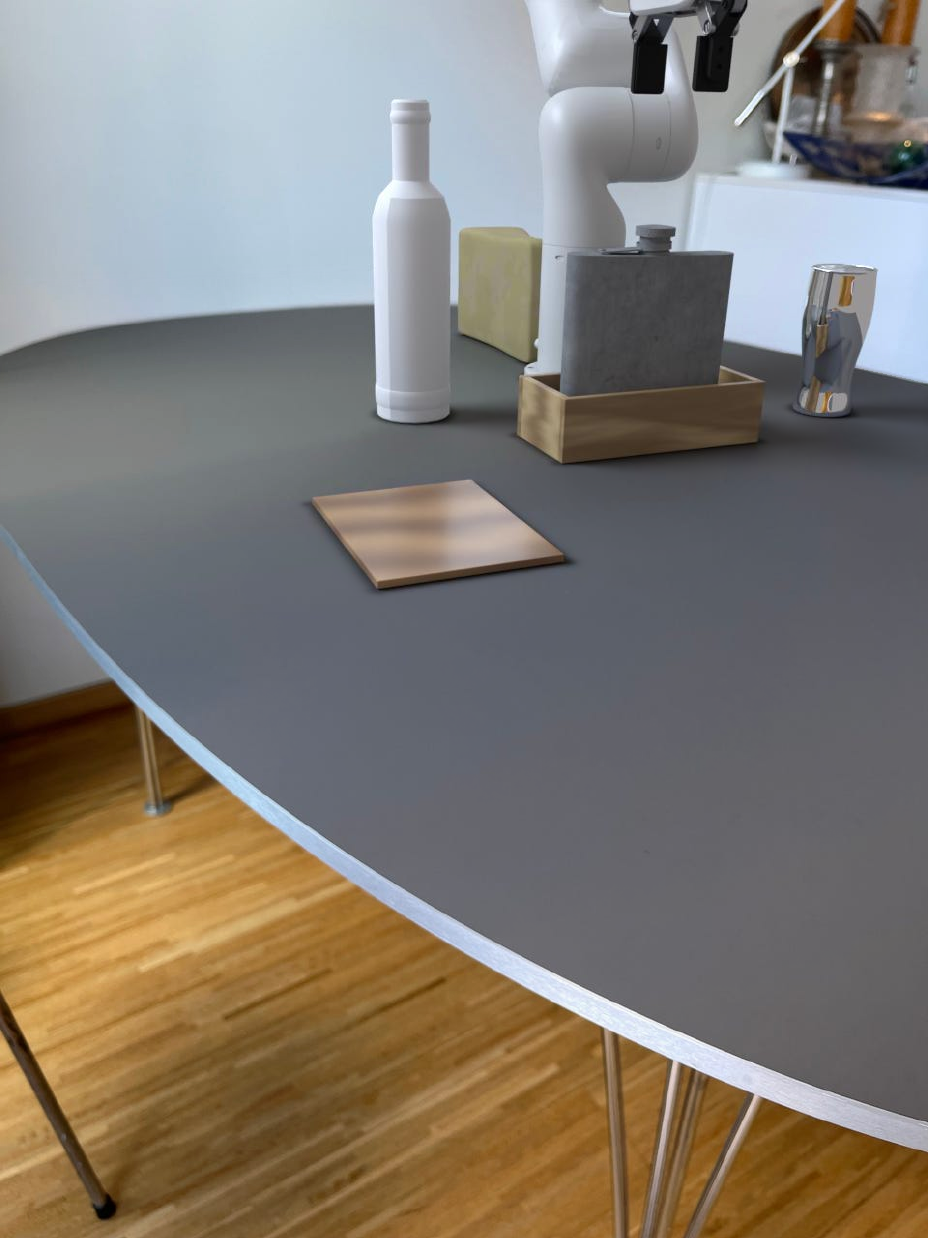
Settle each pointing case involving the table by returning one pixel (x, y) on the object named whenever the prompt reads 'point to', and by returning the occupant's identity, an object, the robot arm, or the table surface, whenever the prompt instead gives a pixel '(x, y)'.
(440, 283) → the bottle
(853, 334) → the beer glass
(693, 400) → the box
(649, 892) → the table surface
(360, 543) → the wooden mat
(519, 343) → the cheese
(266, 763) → the table surface
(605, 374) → the hip flask
